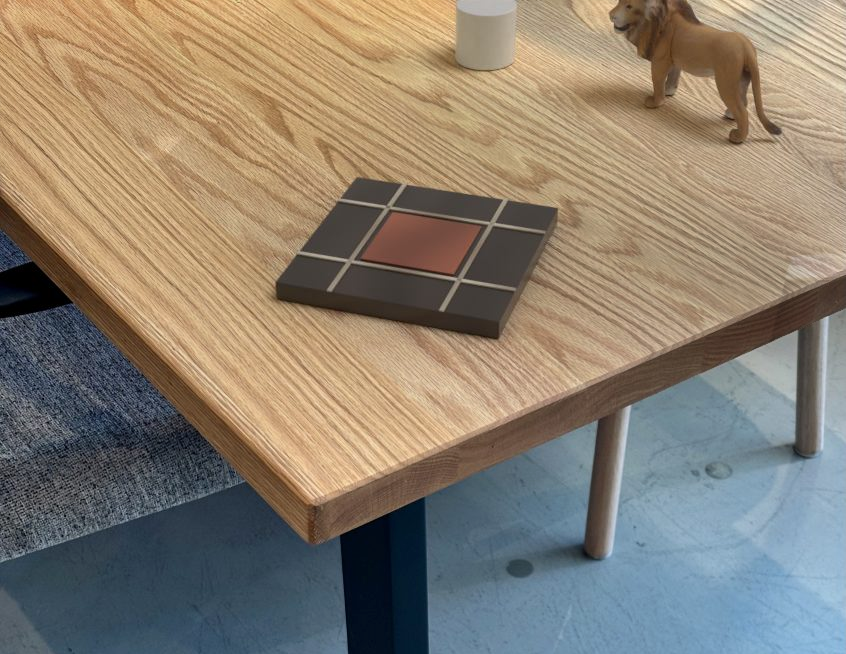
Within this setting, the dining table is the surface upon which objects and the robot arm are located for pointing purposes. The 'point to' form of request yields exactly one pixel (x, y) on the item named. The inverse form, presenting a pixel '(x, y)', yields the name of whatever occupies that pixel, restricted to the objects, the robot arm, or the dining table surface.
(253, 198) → the dining table surface
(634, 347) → the dining table surface
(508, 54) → the white plastic cylinder
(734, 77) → the lion figurine
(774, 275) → the dining table surface
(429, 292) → the board
